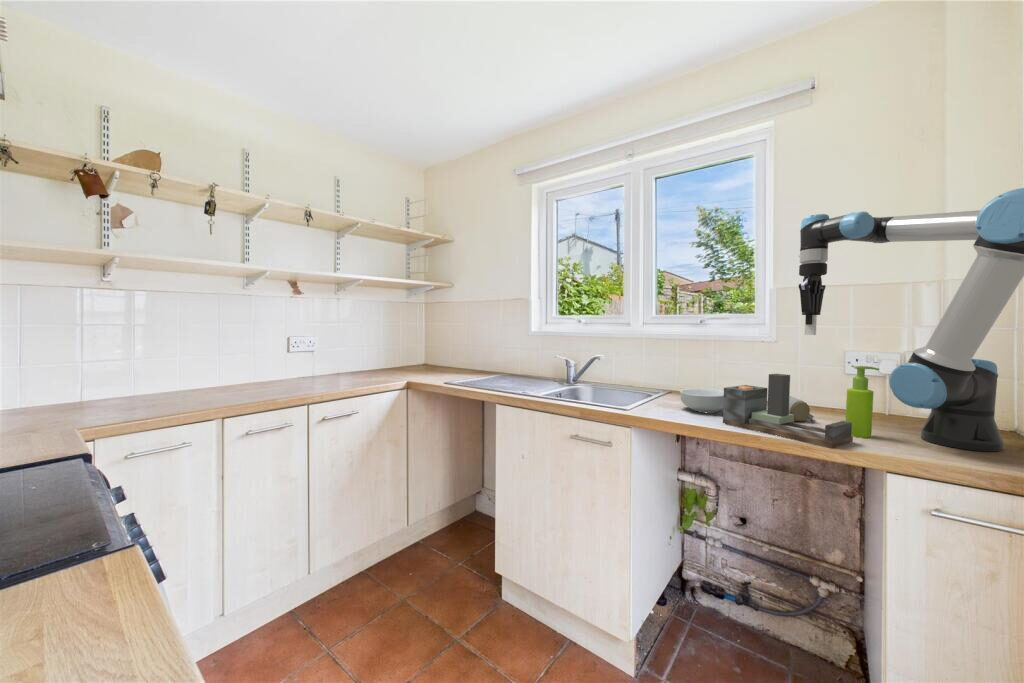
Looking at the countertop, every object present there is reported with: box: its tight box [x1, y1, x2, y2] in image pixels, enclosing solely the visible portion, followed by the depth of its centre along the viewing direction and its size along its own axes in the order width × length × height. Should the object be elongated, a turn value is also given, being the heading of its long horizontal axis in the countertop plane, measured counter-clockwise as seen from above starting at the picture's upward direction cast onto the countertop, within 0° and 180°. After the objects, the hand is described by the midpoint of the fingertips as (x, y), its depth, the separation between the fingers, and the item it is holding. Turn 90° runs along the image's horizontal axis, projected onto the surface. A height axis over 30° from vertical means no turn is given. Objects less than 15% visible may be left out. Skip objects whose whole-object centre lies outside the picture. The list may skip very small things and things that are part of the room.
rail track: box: [722, 384, 854, 449], centre depth 124 cm, size 30×12×12 cm, turn 30°
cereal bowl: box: [679, 388, 724, 414], centre depth 153 cm, size 17×17×7 cm
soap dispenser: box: [845, 365, 880, 439], centre depth 120 cm, size 6×7×20 cm
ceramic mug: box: [789, 395, 814, 422], centre depth 140 cm, size 11×8×8 cm
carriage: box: [752, 373, 795, 425], centre depth 126 cm, size 8×8×14 cm
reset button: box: [738, 385, 753, 390], centre depth 134 cm, size 4×4×3 cm
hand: (810, 334), depth 140 cm, fingers closed
